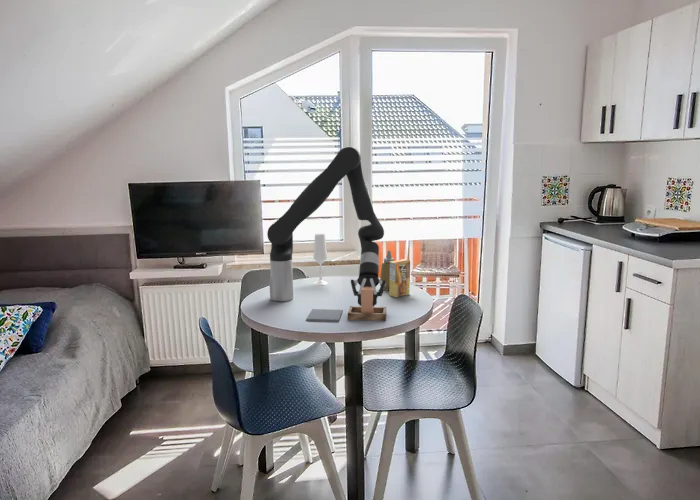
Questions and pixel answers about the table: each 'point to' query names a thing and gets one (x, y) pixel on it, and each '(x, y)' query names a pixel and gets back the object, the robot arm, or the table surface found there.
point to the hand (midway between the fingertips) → (367, 304)
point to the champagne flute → (320, 254)
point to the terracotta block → (367, 300)
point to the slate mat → (324, 315)
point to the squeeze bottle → (386, 269)
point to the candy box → (399, 278)
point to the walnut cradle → (367, 314)
